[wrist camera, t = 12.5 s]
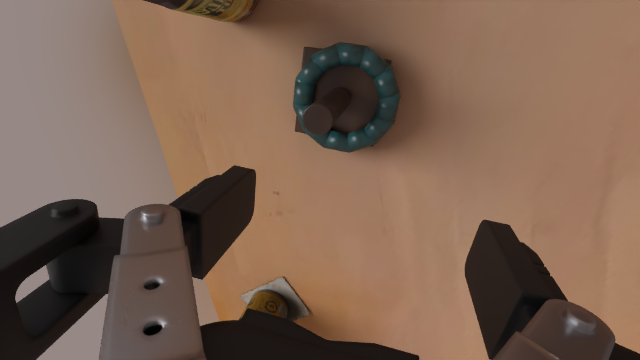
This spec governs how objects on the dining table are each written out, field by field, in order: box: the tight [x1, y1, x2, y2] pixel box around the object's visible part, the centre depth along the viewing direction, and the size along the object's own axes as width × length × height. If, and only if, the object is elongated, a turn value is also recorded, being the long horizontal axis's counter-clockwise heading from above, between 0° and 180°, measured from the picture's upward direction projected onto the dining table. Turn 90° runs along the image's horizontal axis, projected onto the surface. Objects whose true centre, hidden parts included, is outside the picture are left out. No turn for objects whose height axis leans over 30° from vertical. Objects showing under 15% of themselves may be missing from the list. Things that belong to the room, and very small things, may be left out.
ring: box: [293, 42, 400, 152], centre depth 34 cm, size 11×11×2 cm
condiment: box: [239, 277, 310, 321], centre depth 45 cm, size 7×8×12 cm
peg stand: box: [295, 47, 391, 146], centre depth 31 cm, size 9×9×12 cm
